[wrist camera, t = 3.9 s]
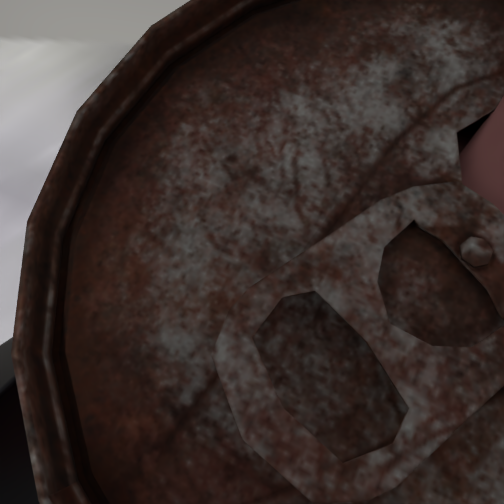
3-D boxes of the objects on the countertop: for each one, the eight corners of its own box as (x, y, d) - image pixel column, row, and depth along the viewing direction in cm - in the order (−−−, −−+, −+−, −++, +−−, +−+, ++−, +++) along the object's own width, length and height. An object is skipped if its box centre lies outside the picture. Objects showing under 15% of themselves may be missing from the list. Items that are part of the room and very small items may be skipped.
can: (422, 301, 16) (1034, -75, 3) (378, 489, 15) (1234, 1409, 2) (258, 253, 17) (173, -204, 4) (201, 426, 16) (-264, 650, 2)
